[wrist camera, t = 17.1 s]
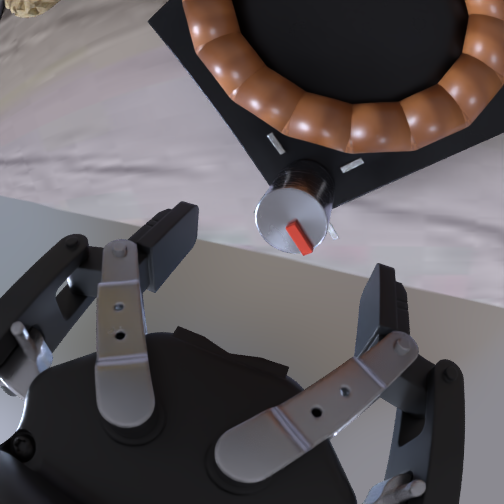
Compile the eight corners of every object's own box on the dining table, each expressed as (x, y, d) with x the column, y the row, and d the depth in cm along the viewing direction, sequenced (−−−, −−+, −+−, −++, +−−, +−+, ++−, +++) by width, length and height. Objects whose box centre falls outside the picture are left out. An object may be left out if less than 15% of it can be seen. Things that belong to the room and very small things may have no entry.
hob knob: (265, 176, 19) (238, 210, 15) (315, 149, 17) (301, 177, 13) (296, 222, 20) (278, 266, 16) (345, 200, 18) (340, 241, 14)
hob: (150, 40, 18) (127, 40, 16) (366, -99, 7) (366, -117, 5) (294, 239, 24) (286, 259, 22) (519, 140, 13) (537, 152, 11)
